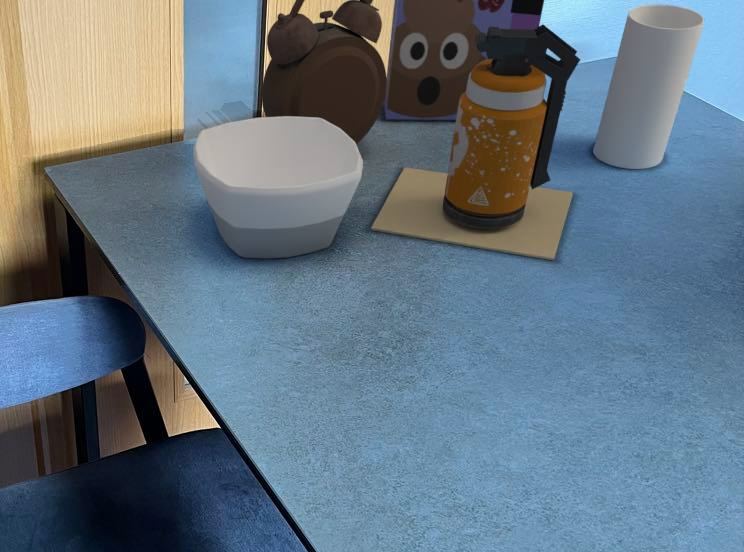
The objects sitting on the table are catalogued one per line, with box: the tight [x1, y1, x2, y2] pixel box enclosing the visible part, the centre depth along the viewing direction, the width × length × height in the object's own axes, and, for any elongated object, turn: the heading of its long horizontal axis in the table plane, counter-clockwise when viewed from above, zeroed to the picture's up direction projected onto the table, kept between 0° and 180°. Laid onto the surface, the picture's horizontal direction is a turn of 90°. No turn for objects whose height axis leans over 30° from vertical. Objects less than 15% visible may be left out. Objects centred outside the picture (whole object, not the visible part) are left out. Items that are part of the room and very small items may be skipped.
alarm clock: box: [261, 0, 387, 145], centre depth 121 cm, size 14×7×20 cm, turn 115°
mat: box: [370, 166, 574, 261], centre depth 118 cm, size 20×16×1 cm
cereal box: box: [383, 0, 545, 122], centre depth 128 cm, size 17×5×24 cm, turn 87°
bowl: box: [192, 116, 364, 259], centre depth 112 cm, size 18×18×9 cm
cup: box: [592, 3, 705, 170], centre depth 122 cm, size 8×8×16 cm
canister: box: [443, 24, 581, 229], centre depth 109 cm, size 9×11×20 cm
